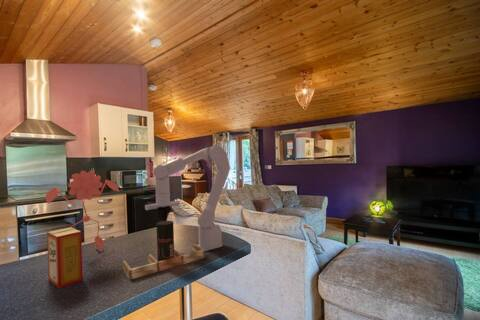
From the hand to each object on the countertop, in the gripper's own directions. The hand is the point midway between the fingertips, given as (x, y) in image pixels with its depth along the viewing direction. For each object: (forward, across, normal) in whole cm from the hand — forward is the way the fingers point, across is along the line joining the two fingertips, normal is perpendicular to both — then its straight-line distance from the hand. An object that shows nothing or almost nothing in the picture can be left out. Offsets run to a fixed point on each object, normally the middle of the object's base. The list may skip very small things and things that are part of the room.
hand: (163, 224), depth 107 cm
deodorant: (+11, +5, +16) cm, 20 cm away
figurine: (+11, +27, -13) cm, 32 cm away
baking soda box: (+11, +35, +7) cm, 37 cm away
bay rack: (+10, +5, +16) cm, 19 cm away
